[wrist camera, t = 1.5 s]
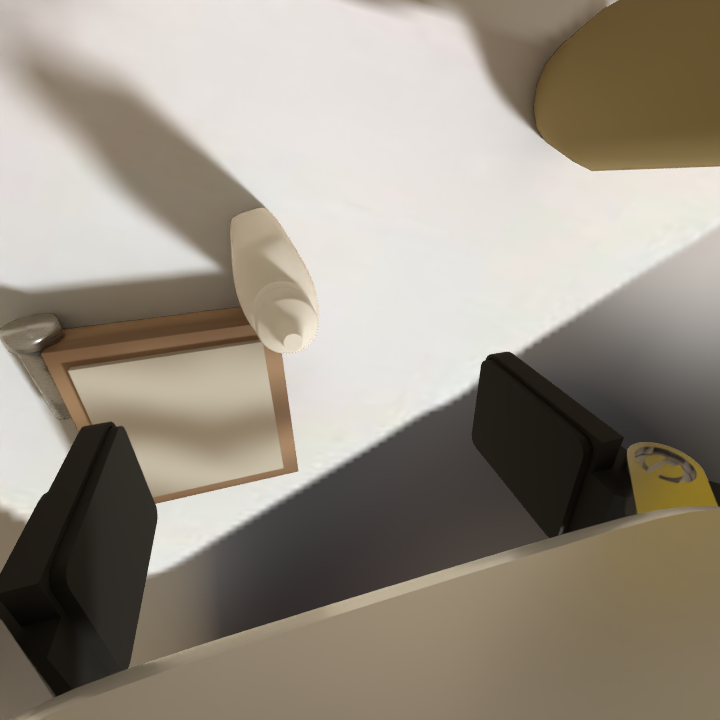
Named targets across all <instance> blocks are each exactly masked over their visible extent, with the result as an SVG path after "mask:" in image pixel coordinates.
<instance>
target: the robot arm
mask: <svg viewBox="0 0 720 720" xmlns="http://www.w3.org/2000/svg"><path fill="white" fill-rule="evenodd" d="M623 438H624V437H623V436H621V435H620V434H619V433H617V432H616V431H615V430H613V429H612V428H611V427H609V426H608V425H607V424H605V423H604V422H603V421H601V420H600V419H599V418H597V417H596V416H595V415H593V414H592V413H591V412H589V411H588V410H587V409H585V408H584V407H583V406H581V405H580V404H579V403H577V402H576V401H575V400H573V399H572V398H571V397H569V396H568V395H567V394H565V393H564V392H563V391H562V390H560V389H559V388H558V387H556V386H555V385H553V384H552V383H551V382H550V381H548V380H547V379H546V378H544V377H543V376H541V375H540V374H539V373H538V372H536V371H535V370H533V369H532V368H531V367H530V366H528V365H527V364H526V363H524V362H523V361H522V360H520V359H519V358H518V357H516V356H515V355H514V354H512V353H511V352H502V353H496V354H491V355H489V356H487V358H486V360H485V361H483V362H482V364H481V370H480V378H479V385H478V393H477V400H476V407H475V415H474V422H473V430H472V440H473V443H474V445H475V447H476V448H477V449H478V451H479V452H480V453H481V454H482V456H483V457H484V458H485V459H486V460H487V462H488V463H489V464H490V466H491V467H492V468H493V469H494V470H495V472H496V473H497V474H498V475H499V477H500V478H501V479H502V480H503V482H504V483H505V484H506V485H507V487H508V488H509V489H510V490H511V492H512V493H513V494H514V495H515V497H516V498H517V499H518V500H519V502H520V503H521V504H522V505H523V507H524V508H525V509H526V510H527V512H528V513H529V514H530V515H531V517H532V518H533V519H534V520H535V522H536V523H537V524H538V525H539V527H540V528H541V529H542V530H543V531H544V533H545V534H546V535H547V536H548V537H549V539H546V540H542V541H539V542H536V543H532V544H529V545H526V546H522V547H519V548H516V549H512V550H509V551H505V552H503V553H499V554H496V555H492V556H489V557H485V558H482V559H479V560H475V561H472V562H469V563H465V564H462V565H459V566H455V567H452V568H449V569H446V570H442V571H439V572H436V573H432V574H429V575H426V576H422V577H419V578H416V579H413V580H410V581H406V582H403V583H400V584H397V585H393V586H390V587H386V588H383V589H380V590H376V591H373V592H370V593H367V594H363V595H360V596H357V597H354V598H350V599H347V600H344V601H340V602H337V603H334V604H331V605H327V606H324V607H321V608H318V609H315V610H312V611H308V612H305V613H302V614H298V615H295V616H292V617H289V618H286V619H282V620H279V621H276V622H273V623H269V624H266V625H263V626H260V627H256V628H253V629H250V630H247V631H244V632H240V633H237V634H234V635H231V636H227V637H224V638H221V639H218V640H215V641H212V642H209V643H206V644H203V645H199V646H197V647H193V648H190V649H187V650H184V651H181V652H178V653H175V654H172V655H169V656H166V657H163V658H160V659H157V660H154V661H151V662H147V663H144V664H141V665H138V666H135V667H132V668H129V669H128V667H129V664H130V660H131V655H132V650H133V644H134V639H135V634H136V629H137V624H138V619H139V613H140V608H141V603H142V597H143V592H144V587H145V582H146V577H147V571H148V566H149V561H150V556H151V550H152V545H153V540H154V535H155V529H156V524H157V508H156V505H155V502H154V500H153V497H152V495H151V492H150V490H149V487H148V485H147V482H146V480H145V477H144V475H143V472H142V470H141V467H140V465H139V462H138V460H137V457H136V455H135V452H134V450H133V447H132V445H131V442H130V440H129V437H128V435H127V432H126V430H125V428H124V427H123V426H117V427H116V425H115V424H114V423H113V422H111V421H110V422H104V423H99V424H93V425H87V426H84V427H82V428H81V429H80V431H79V433H78V435H77V437H76V439H75V441H74V443H73V445H72V447H71V449H70V451H69V452H68V454H67V456H66V458H65V460H64V462H63V464H62V466H61V468H60V470H59V472H58V474H57V476H56V478H55V480H54V482H53V483H52V485H51V487H50V489H49V491H48V492H47V493H45V494H44V495H43V496H42V497H41V499H40V500H39V502H38V503H37V505H36V507H35V509H34V511H33V513H32V515H31V517H30V519H29V520H28V522H27V524H26V526H25V528H24V530H23V532H22V534H21V536H20V538H19V539H18V541H17V543H16V545H15V547H14V549H13V551H12V553H11V554H10V556H9V558H8V560H7V562H6V564H5V566H4V568H3V570H2V572H1V573H0V720H720V484H718V483H715V482H711V481H708V480H707V477H706V475H705V472H704V471H703V469H702V468H701V466H700V465H699V464H698V463H696V461H694V460H693V459H692V458H691V457H689V456H687V455H686V454H684V453H683V452H681V451H678V450H676V449H674V448H672V447H669V446H665V445H662V444H658V443H650V442H642V443H636V444H633V445H631V446H630V447H629V449H627V450H626V449H624V448H623V447H622V446H621V443H622V441H623Z"/></svg>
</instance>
